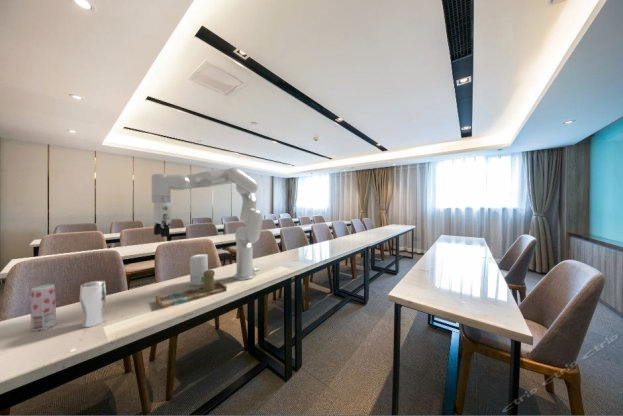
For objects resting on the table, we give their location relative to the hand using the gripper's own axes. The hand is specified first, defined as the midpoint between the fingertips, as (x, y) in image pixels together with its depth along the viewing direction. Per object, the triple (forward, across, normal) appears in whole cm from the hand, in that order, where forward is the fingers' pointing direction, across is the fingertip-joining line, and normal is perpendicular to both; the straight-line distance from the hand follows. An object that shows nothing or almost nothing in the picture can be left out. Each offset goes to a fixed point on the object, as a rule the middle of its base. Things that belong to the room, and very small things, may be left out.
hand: (161, 235), depth 103 cm
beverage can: (+30, +4, +36) cm, 47 cm away
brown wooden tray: (+30, -10, -10) cm, 33 cm away
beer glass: (+30, -6, +24) cm, 39 cm away
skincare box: (+30, +6, -20) cm, 37 cm away
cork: (+30, -11, -18) cm, 37 cm away
